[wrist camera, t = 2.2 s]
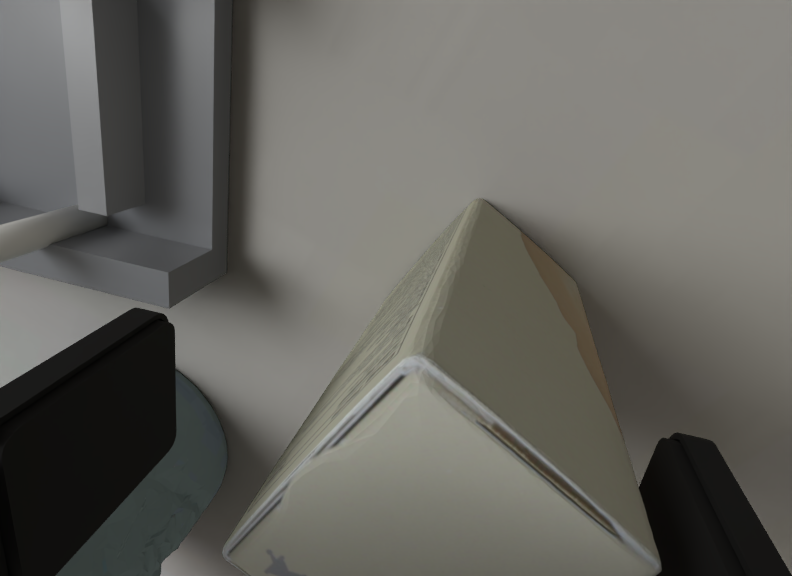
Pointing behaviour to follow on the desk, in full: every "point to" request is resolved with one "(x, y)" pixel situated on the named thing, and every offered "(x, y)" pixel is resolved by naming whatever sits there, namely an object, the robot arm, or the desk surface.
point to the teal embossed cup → (161, 497)
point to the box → (459, 434)
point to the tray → (116, 143)
